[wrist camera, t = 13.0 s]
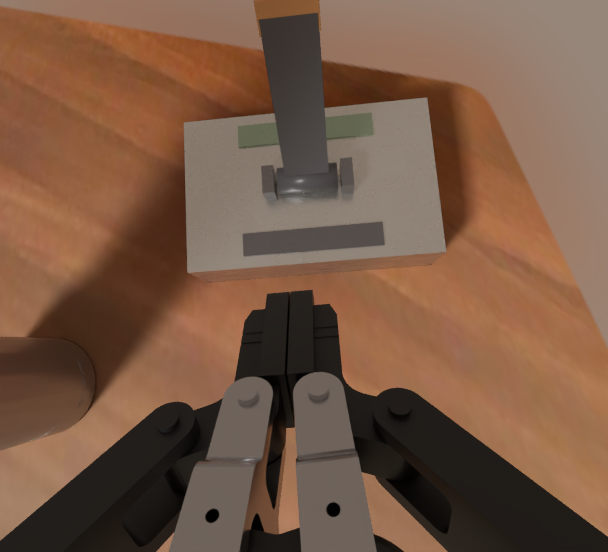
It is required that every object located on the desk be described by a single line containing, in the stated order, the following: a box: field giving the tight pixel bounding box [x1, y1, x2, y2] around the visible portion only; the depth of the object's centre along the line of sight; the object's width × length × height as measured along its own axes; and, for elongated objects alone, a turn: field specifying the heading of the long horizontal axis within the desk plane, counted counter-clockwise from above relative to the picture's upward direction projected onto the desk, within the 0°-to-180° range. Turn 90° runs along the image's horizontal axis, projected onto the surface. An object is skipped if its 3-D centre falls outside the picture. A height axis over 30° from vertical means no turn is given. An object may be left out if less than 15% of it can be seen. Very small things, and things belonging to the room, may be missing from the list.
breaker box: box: [184, 98, 446, 283], centre depth 40 cm, size 22×14×8 cm, turn 94°
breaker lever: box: [254, 0, 338, 194], centre depth 32 cm, size 5×2×15 cm, turn 94°
